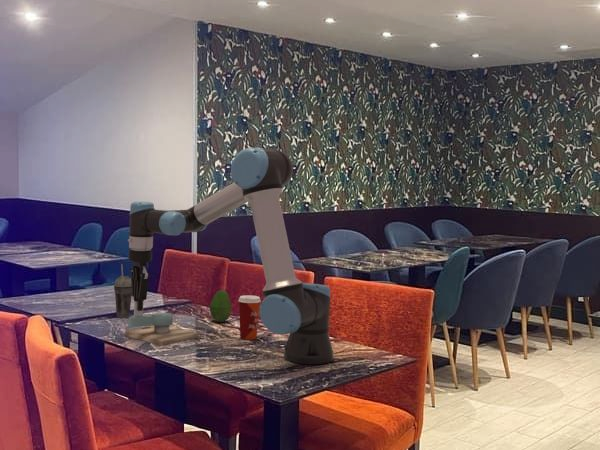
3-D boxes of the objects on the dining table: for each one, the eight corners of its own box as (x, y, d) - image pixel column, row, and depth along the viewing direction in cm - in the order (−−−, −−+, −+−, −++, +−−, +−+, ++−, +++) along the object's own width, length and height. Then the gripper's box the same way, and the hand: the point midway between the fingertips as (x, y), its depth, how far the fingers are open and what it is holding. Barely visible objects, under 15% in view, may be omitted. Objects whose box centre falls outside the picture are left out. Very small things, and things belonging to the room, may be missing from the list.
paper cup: (256, 341, 230) (257, 299, 229) (234, 339, 231) (235, 298, 230) (262, 336, 237) (263, 295, 236) (240, 334, 239) (242, 294, 238)
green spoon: (167, 320, 236) (167, 312, 235) (175, 325, 230) (176, 316, 230) (126, 324, 228) (126, 315, 228) (133, 328, 222) (133, 319, 222)
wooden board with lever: (197, 337, 232) (198, 325, 232) (161, 345, 219) (161, 333, 219) (161, 328, 243) (162, 317, 243) (125, 335, 230) (125, 323, 230)
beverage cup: (137, 316, 260) (138, 264, 259) (122, 319, 254) (123, 265, 253) (123, 314, 264) (124, 262, 263) (108, 316, 258) (109, 263, 256)
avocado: (231, 319, 262) (232, 288, 261) (230, 324, 254) (231, 292, 253) (210, 319, 261) (211, 287, 260) (208, 323, 254) (209, 291, 253)
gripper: (123, 246, 229) (121, 316, 231) (135, 252, 218) (133, 325, 221) (144, 246, 233) (142, 314, 235) (158, 251, 222) (156, 323, 225)
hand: (138, 319), depth 228 cm, fingers closed
